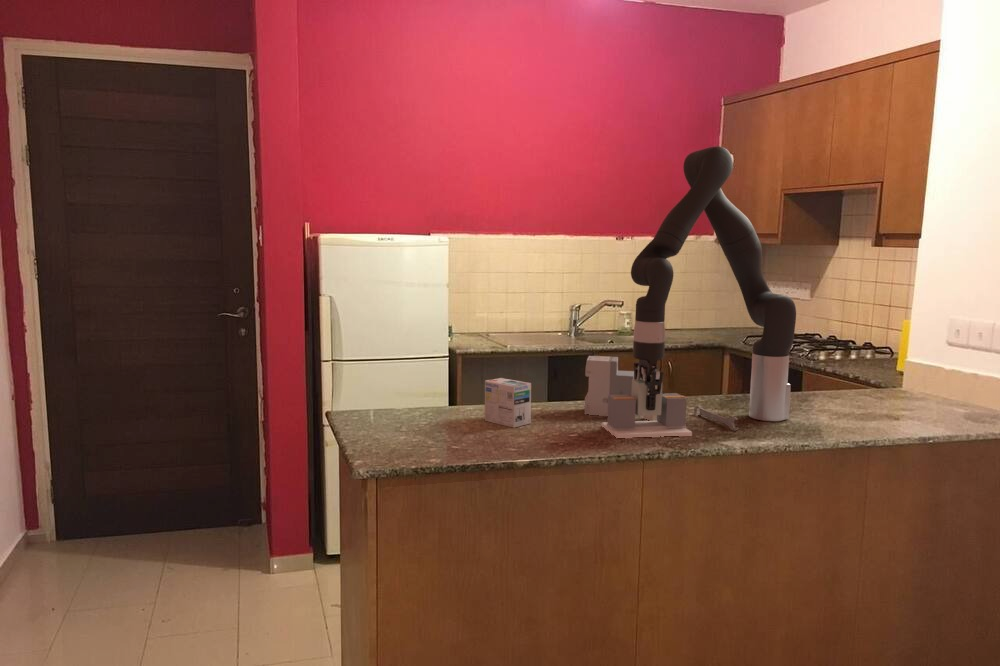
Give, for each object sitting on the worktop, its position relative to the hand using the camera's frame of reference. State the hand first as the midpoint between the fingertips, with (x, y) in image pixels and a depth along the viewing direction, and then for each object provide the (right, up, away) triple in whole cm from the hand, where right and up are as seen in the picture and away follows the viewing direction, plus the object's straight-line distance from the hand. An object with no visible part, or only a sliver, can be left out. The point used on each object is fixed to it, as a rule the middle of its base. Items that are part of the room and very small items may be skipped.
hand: (646, 407), depth 189 cm
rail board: (0, -6, +1) cm, 6 cm away
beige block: (+5, -5, +13) cm, 14 cm away
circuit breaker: (-6, -4, +19) cm, 20 cm away
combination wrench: (+20, -6, +10) cm, 23 cm away
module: (0, -1, 0) cm, 1 cm away
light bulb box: (-34, -5, +8) cm, 35 cm away
